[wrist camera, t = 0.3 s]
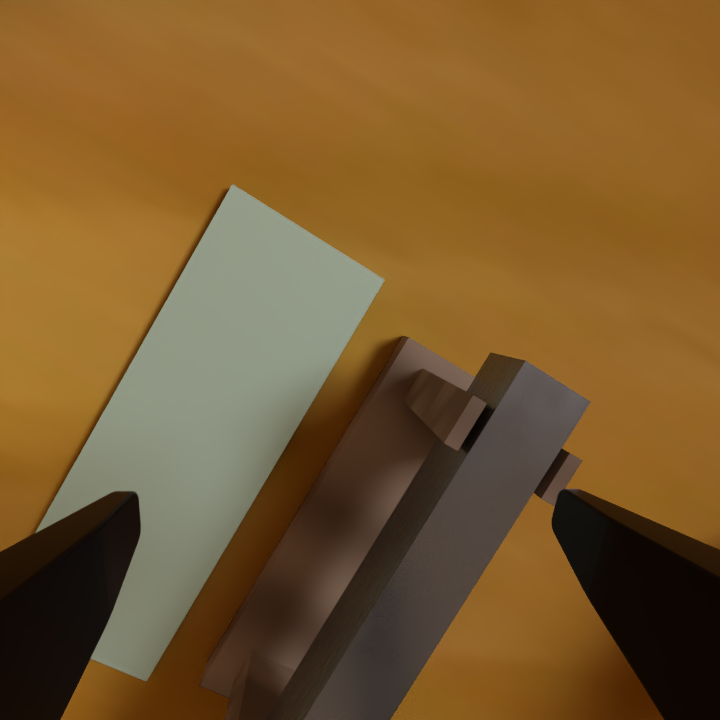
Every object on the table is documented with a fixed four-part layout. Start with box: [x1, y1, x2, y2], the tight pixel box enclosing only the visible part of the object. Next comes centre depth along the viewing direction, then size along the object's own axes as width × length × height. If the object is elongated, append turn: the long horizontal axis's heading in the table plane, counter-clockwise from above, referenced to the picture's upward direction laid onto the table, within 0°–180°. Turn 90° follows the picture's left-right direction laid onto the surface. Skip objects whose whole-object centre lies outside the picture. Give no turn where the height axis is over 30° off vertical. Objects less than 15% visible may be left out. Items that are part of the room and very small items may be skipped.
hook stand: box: [200, 336, 582, 720], centre depth 19 cm, size 22×8×8 cm, turn 149°
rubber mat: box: [35, 184, 384, 682], centre depth 22 cm, size 26×9×1 cm, turn 149°
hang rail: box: [265, 353, 590, 720], centre depth 17 cm, size 24×3×3 cm, turn 149°
